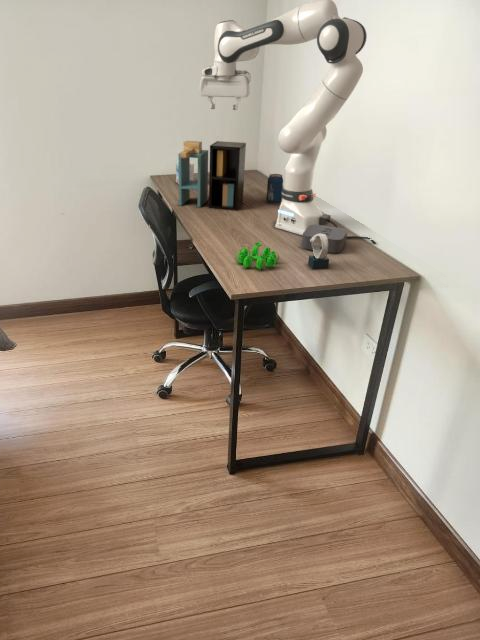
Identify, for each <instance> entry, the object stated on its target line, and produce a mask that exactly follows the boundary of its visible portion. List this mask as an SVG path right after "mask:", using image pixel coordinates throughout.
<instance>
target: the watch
mask: <svg viewBox="0 0 480 640" xmlns="http://www.w3.org/2000/svg"><path fill="white" fill-rule="evenodd" d="M310 242H312V247H313V250H312V251H313V255H309V256H308V262H307V265H308V266H309V267H310V269H311V270H323V269H329V264H330V258H329V257H328V256H327V255H328V253H329V252H328V238H327V235H326V234H322V233H320V234H316V235H314V236H313V237H312V238H311V239H310ZM321 246H322V250H321V251H320V247H321Z"/></svg>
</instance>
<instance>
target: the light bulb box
mask: <svg viewBox="0 0 480 640" xmlns="http://www.w3.org/2000/svg"><path fill="white" fill-rule="evenodd" d="M175 173H176V174H175V177H176V178H175V182H176V183H177V184H178V185H179V160H175ZM194 179H195V163H194V162H192V161H190V180H192V181H195V180H194Z"/></svg>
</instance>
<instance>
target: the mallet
mask: <svg viewBox="0 0 480 640" xmlns="http://www.w3.org/2000/svg"><path fill="white" fill-rule="evenodd" d="M202 150H203V141H197V140H185V141H184V142H183V151H181V152H180V153H181V158H187V157H189V156H191V155H192V154H199V153H201V152H202Z"/></svg>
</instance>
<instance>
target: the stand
mask: <svg viewBox="0 0 480 640" xmlns="http://www.w3.org/2000/svg"><path fill="white" fill-rule="evenodd" d="M177 155H178V157H177V158H178V159H177V160H178V161H179V184H178V206H179V207H180V206H183V205H185V204H186V203H187V202H188V201H189V200H190V199H191V196H190V195H191V194H190V193H191V191H192V190H193V191H197V205H196V206H197V208H201V207H202V206H203V205H204V204H206V202H209V149H202V152H201V153H199V154H192V155H191V156H189V157H187V158H181V152H179V153H178V154H177ZM193 158H194V159H197V180H194V181H192V180H190V162H191V159H193ZM190 190H191V191H190Z"/></svg>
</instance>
